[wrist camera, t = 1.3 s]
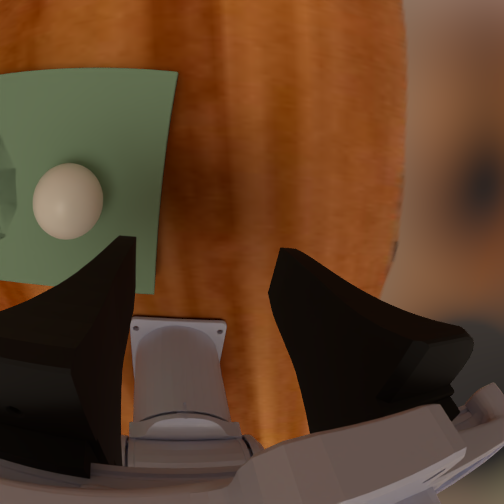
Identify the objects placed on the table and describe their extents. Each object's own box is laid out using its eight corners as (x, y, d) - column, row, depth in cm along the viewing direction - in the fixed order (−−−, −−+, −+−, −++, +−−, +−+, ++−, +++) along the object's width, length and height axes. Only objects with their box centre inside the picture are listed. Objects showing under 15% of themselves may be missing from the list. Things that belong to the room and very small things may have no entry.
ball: (108, 222, 17) (94, 256, 14) (49, 219, 16) (25, 250, 13) (111, 157, 16) (93, 176, 12) (48, 155, 15) (18, 174, 11)
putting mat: (178, 74, 16) (177, 72, 14) (155, 274, 23) (154, 294, 21) (-66, 90, 11) (-86, 94, 9) (-53, 254, 17) (-67, 270, 15)
